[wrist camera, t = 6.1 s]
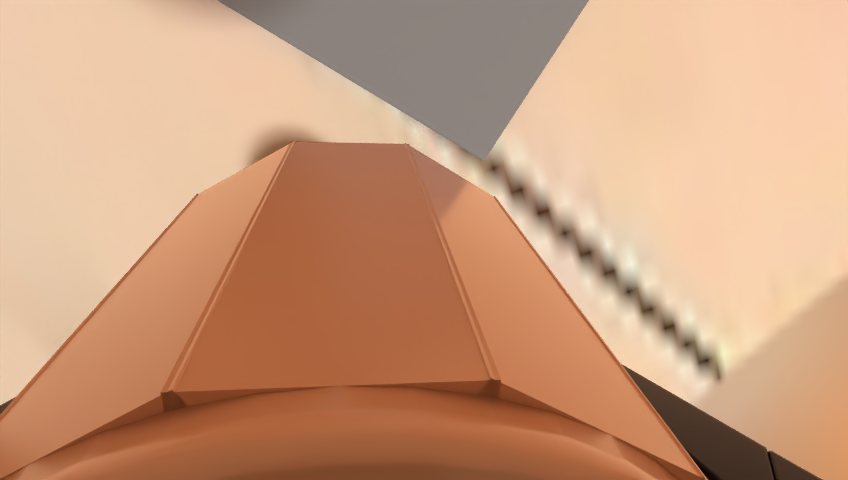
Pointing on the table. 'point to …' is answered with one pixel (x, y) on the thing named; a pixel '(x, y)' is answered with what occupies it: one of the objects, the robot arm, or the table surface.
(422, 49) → the charcoal mat
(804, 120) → the table surface
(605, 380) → the terracotta cup
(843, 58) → the table surface
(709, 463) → the robot arm
